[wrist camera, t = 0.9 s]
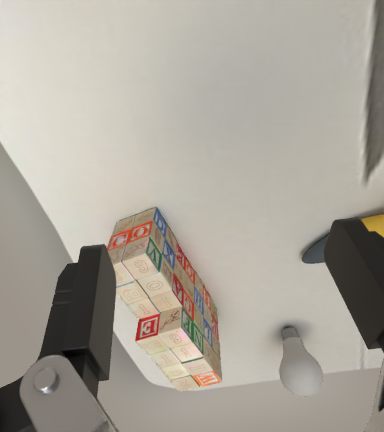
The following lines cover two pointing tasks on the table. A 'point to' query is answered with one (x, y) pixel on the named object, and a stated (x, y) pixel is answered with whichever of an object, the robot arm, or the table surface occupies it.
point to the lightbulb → (299, 366)
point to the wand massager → (316, 253)
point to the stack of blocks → (166, 301)
